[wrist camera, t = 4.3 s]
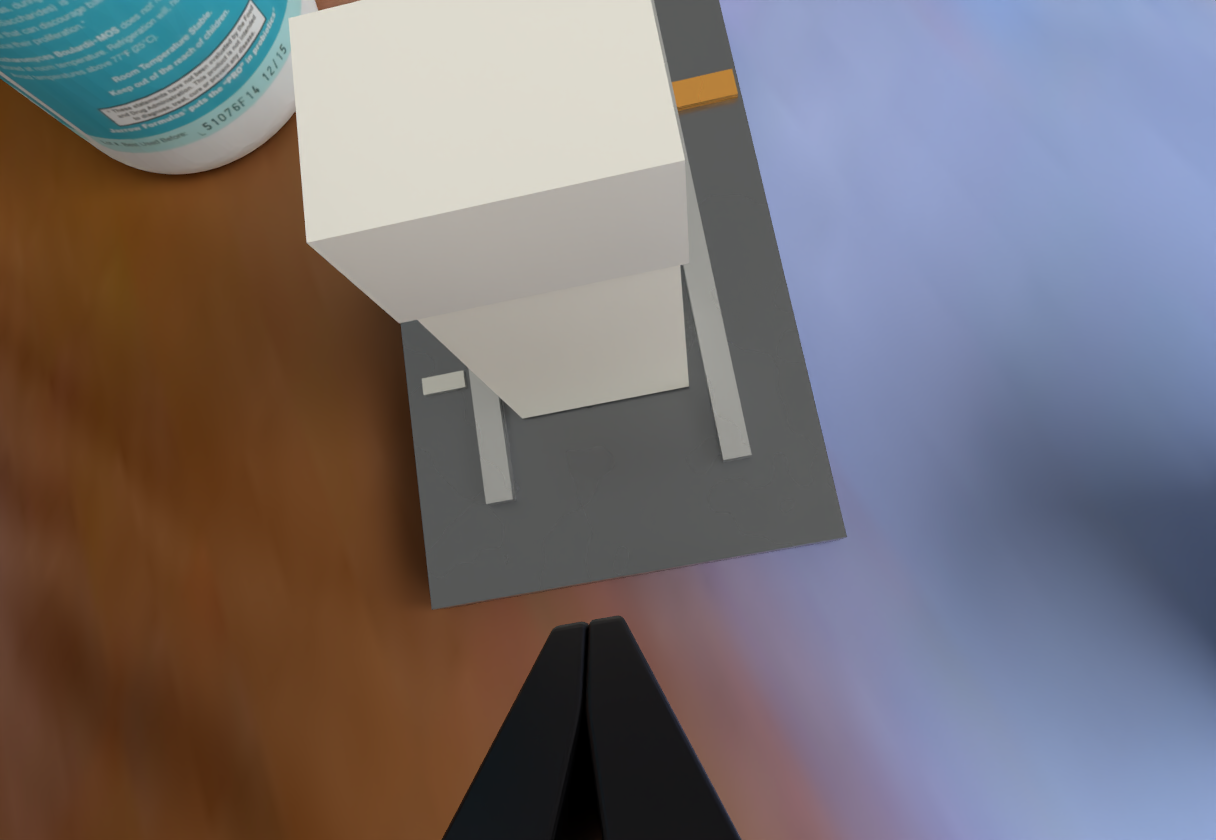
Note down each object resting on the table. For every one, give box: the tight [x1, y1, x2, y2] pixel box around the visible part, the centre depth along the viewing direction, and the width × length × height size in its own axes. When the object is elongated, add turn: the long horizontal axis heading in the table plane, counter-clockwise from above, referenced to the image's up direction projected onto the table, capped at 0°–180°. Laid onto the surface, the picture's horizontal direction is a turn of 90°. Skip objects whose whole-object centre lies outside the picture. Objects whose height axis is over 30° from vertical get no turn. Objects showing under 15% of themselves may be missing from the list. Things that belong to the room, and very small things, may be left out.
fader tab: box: [288, 0, 689, 419], centre depth 13 cm, size 3×4×10 cm
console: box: [401, 0, 847, 610], centre depth 18 cm, size 14×9×1 cm, turn 10°
